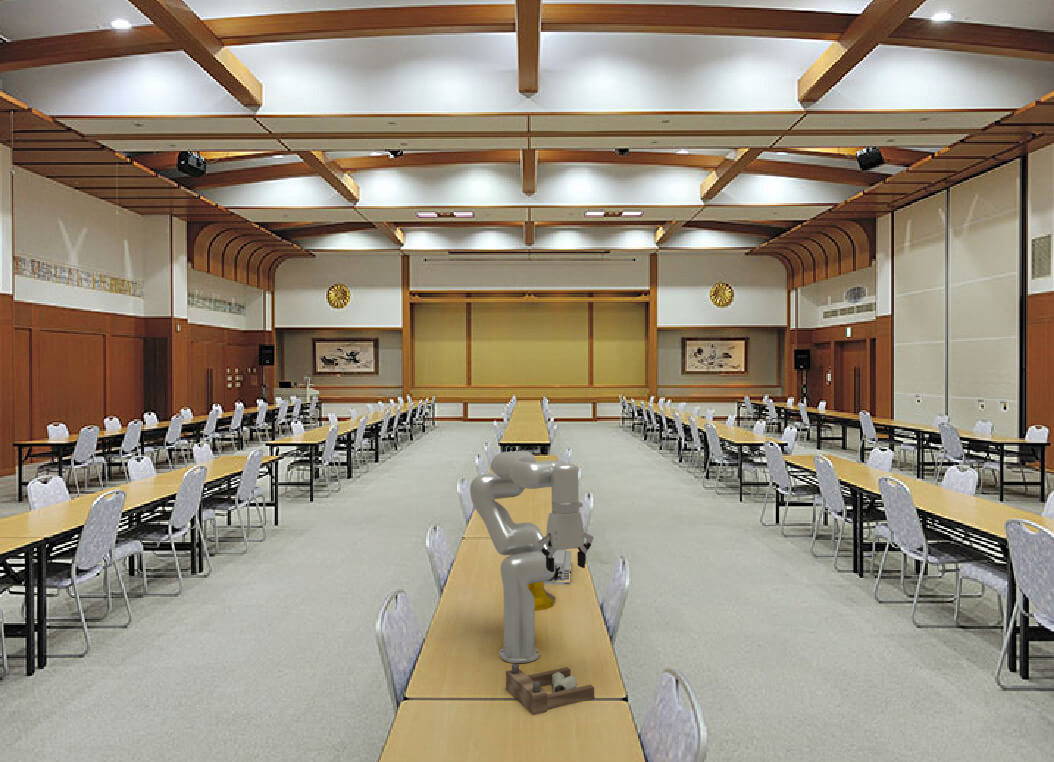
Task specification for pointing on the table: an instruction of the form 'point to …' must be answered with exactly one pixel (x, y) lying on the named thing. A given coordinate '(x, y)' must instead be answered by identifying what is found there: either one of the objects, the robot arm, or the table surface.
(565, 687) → the pipe fitting
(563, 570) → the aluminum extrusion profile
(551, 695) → the bench jig
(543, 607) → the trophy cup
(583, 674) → the table surface
